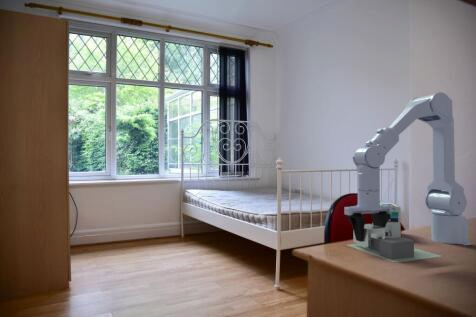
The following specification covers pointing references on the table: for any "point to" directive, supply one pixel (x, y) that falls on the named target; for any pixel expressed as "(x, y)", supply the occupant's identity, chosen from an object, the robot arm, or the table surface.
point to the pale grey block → (370, 234)
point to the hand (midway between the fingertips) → (368, 239)
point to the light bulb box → (393, 222)
